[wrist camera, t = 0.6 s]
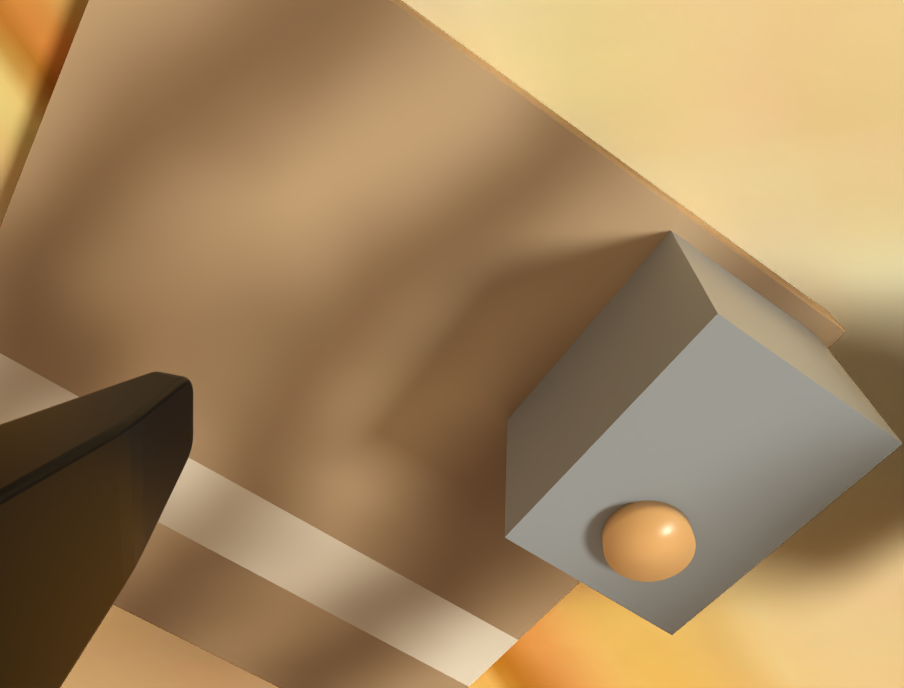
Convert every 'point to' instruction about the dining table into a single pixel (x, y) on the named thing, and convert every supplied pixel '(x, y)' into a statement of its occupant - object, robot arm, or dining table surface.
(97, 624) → the robot arm
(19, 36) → the dining table surface
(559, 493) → the block
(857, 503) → the dining table surface
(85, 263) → the board
